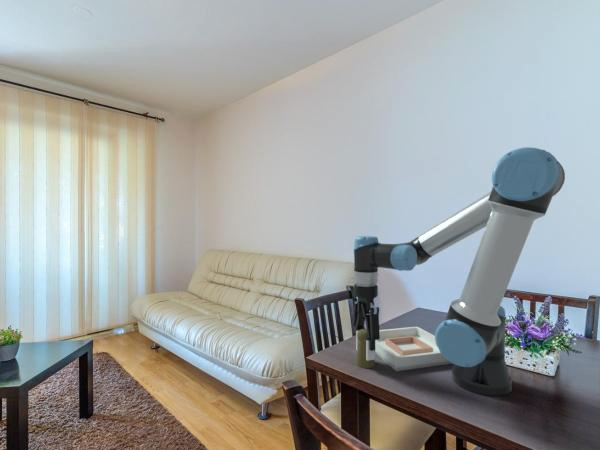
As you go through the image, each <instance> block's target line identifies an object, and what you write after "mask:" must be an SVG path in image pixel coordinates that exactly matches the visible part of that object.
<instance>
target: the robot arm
mask: <svg viewBox="0 0 600 450" xmlns="http://www.w3.org/2000/svg"><path fill="white" fill-rule="evenodd" d="M565 180H566V174H565V170H564V167H563V165H562V164H561V163H560V162H559V161H558V160H557V158H556V157H555V156H554V155H553V154H552V153H551V152H549V151H548V150H545V149H541V148H537V147H531V146H530V147H529V146H528V147H527V146H526V147H520V148H517V149H514V150H511V151H509V152H507V153H506V154H504V155H503V156H502V157H500V159H498V161H497V162H496V163H495V165H494V166H493V170H492V172H491V183H492V188H491V191H489V192H487V193H486V194H484V195H482V196H481V197H480V198H478V199H476V200H475V201H473V202H471V203H470V204H469V205H467V206H465V207H464V208H462V209H461V210H458V211H457V212H456V213H453V214H452V215H451V216H449V217H447V218H445V220H443V221H441V222H440V223H438V224H436V225H434V226H433V227H432V228H430V229H428V230H427V231H424V233H421V234H420V235H419V236H417V237H415V238H414V239H412V240H411V241H408V242H402V243H381V242H379V239H378V236H372V235H364V236H363V235H360V236H359V235H358V236H356V237H355V238H354V246H353V256H354V257H353V261H354V267H353V268H354V269H353V283H354V285H353V296H354V297H353V314H352V315H353V317H352V320H353V321H352V326H353V327H355V328H354V329H355V333H356V335H355V336H356V337H355V338H356V339H355V350H356V352H358V345H359V339H358V337H357V334H358V331H359V330H361V329H367V335H368V338H366V360H367V361H368V360H374V361H375V360H376V354H375V340H379V339H380V334H379V330H380V315H379V314H380V307H379V306H375V301H374V299H375V298H378V294H379V292H378V291H379V287H378V285H377V284H379V283H378V282H379V281H378V280H379V279H378V278H379V277H378V276H379V272H378V271H379V268H382V269H389V270H396V271H401V272H402V271H405V272H409V271H413V270H414V268H415V267H416V265H417V266H419V265H422V264H424V263H426V262H428V261H429V259H430V258H432V257H434V256H435V255H437V254H439V253H440V252H442V251H444V250H446V249H448V248H449V247H452V246H453V245H455V244H457V243H459V242H460V241H462V240H464V239H466V238H468V237H470V236H472V235H474V234H475V233H477V232H478V231H480V230H482V229H484V228H485V229H484V231H483V234H482V236H481V239H480V243H479V245H478V248H477V250H476V253H475V256H474V259H473V261H472V265H471V267H470V269H469V273H468V276H467V278H466V280H465V284H464V286H463V289H462V290H461V294H460V297H459V298H458V299H455V300H452V301H451V303H450V305H449V309H448V311H447V313H446V315H445V318H444V321H442V322H441V323H439V325H438V326H437V328H436V330H435V332H434V336H435V342H436V345H437V347H438V349H439V350H440V352H441V354H442V355H443V356H444V357H445V358H446V359H447V360H449V361H450V362H451V363H453V365H452V366H451V378H452V380H453V381H454V383H456V384H457V385H458V386H460V387H462V388H464V389H465V390H468V391H469V392H472V393H476V394H480V395H484V396H490V397H491V396H493V397H498V396H506V395H509V394H510V393H511V392H512V389H513V388H512V387H513V386H512V385H513V383H512V382H513V381H512V378H511V376H510V373H509V370H508V369H509V368H508V366H507V363H506V357H505V355H506V320H507V316H506V309H505V308H504V307H503V306H502V302H503V299H504V297H505V294H506V292H507V289H508V287H509V284H510V282H511V279H512V276H513V274H514V272H515V269H516V266H517V264H518V262H519V259H520V256H521V254H522V251H523V249H524V246H525V244H526V242H527V239H528V236H529V235H530V232H531V229H532V226H533V224H534V222H535V220H537V219H539V218H542V217H544V216H545V215H546V214H547V211H548V209H549V206H550V204H551V201H552V199H553V197H554V196H555V195H556V194H558V193H559V192H560V190H562V187H563V186H564V184H565Z"/></svg>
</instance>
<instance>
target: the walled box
mask: <svg viewBox="0 0 600 450" xmlns="http://www.w3.org/2000/svg"><path fill="white" fill-rule="evenodd" d="M379 334H380V339H379V340H375V355H377V356H378V357H379V358H380V360H383V362H384V363H386V364H387V365H388V366H389V367H391V368H392V370H394V371H396V372H400V371H408V370H409V371H410V370H416V369H421V368H422V369H423V368H432V367H437V366H438V367H439V366H444V365H446V366H447V365H452V364H453V363H451V362H450V361H449V360H447V359H446V358H445V357H444V356H443V355H442V354H441V352H440V350H439V349H438V347H437V345H436V342H435V334H432V333H430V332H428V331H427V330H424V329H423V328H421V327H419V326H408V327H400V328H399V327H397V328H389V329H379ZM453 365H454V364H453Z"/></svg>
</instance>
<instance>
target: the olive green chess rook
mask: <svg viewBox="0 0 600 450" xmlns="http://www.w3.org/2000/svg"><path fill="white" fill-rule="evenodd" d="M357 337H358V339H359V345H358V351H356V352H357V353H356V359H355V360H356V361H355V365H356V366H357V367H359V368H362V369H371V368H373V367H375V366H376V364H375V360H368V361H367V360H366V338H368V335H367V328H365V329H361V330H359V331H358V334H357Z"/></svg>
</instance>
